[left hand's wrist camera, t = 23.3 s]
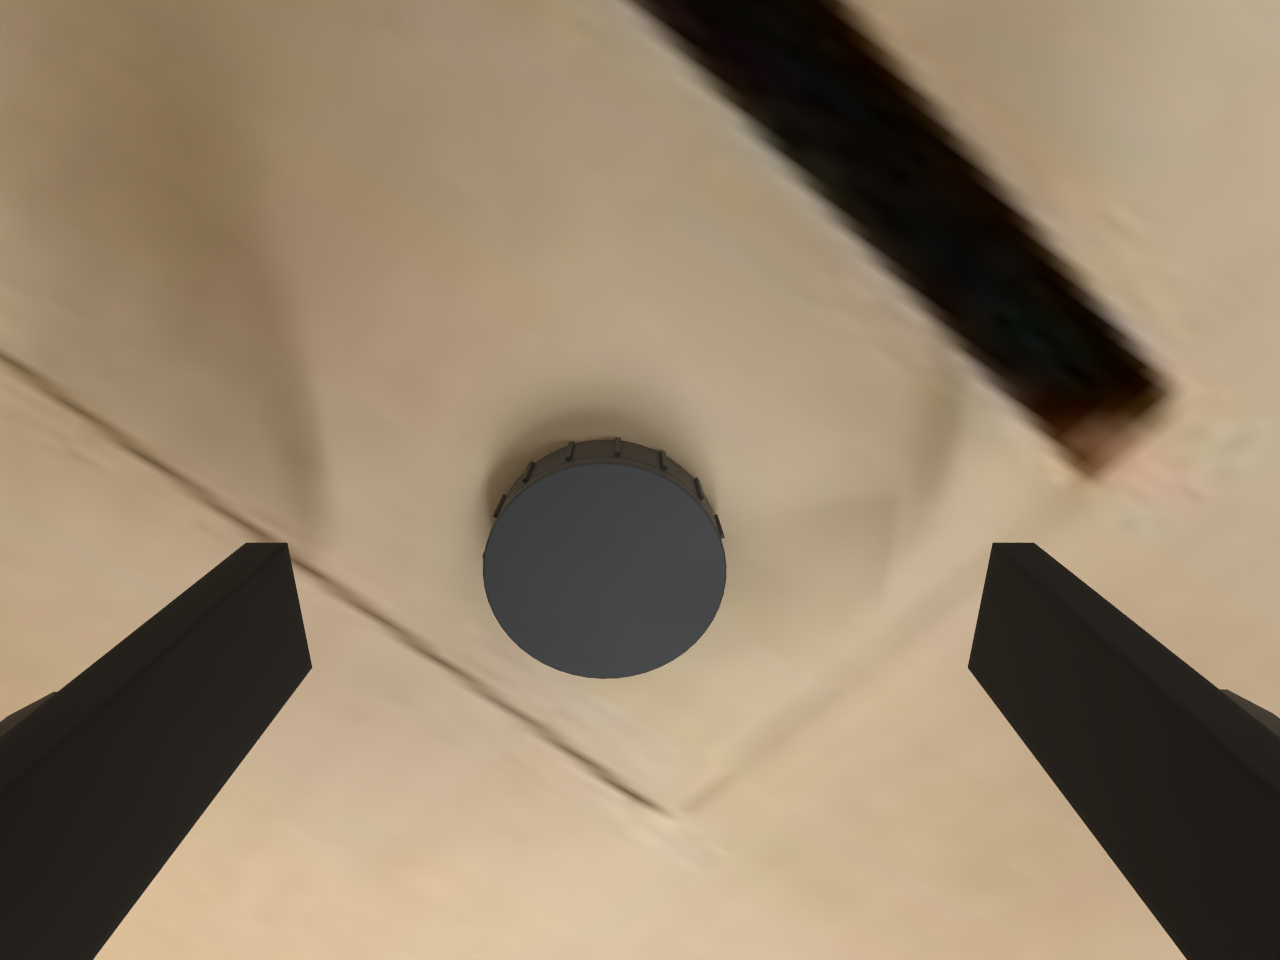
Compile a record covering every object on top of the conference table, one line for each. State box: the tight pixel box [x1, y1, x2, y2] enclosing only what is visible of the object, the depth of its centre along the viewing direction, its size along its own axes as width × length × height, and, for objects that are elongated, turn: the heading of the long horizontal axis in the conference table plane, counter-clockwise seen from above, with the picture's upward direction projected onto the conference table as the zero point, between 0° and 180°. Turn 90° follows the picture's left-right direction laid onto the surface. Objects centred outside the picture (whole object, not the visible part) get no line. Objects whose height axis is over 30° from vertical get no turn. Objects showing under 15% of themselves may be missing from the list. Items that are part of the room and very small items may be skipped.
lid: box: [483, 437, 726, 679], centre depth 15 cm, size 5×5×2 cm
